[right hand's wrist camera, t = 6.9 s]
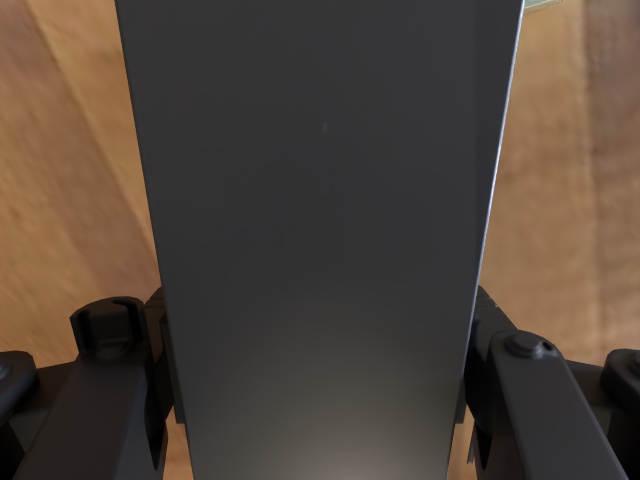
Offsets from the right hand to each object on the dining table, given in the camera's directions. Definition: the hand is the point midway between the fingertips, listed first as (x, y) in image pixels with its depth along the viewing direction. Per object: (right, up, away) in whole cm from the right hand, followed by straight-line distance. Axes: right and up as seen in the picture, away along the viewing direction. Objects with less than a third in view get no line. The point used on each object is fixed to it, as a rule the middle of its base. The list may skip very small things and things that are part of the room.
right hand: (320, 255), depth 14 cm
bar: (0, +14, -5) cm, 15 cm away
